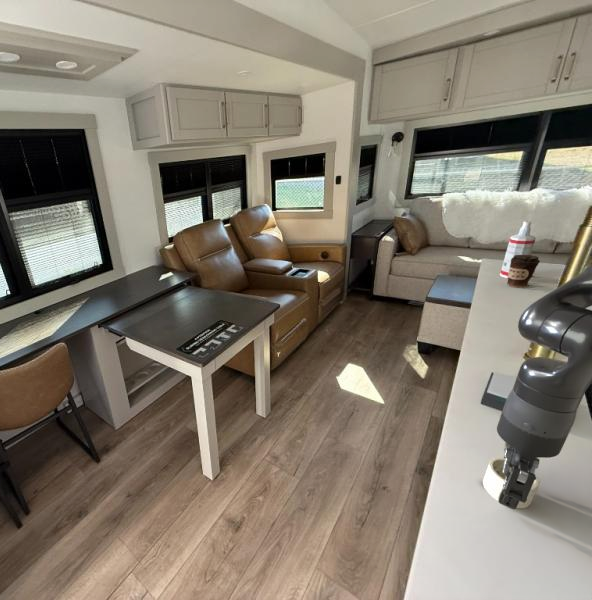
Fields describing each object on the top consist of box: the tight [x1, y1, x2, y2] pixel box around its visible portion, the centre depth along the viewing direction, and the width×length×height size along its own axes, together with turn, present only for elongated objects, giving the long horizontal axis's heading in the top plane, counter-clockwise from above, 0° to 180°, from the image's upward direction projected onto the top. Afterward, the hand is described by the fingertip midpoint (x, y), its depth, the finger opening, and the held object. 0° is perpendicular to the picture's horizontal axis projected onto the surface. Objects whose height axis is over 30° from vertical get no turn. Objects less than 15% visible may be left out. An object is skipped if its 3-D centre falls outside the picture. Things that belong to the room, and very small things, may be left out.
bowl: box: [482, 457, 540, 509], centre depth 57 cm, size 6×6×6 cm
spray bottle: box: [499, 220, 537, 279], centre depth 140 cm, size 8×8×25 cm
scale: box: [480, 371, 517, 412], centre depth 78 cm, size 13×11×3 cm
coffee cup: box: [506, 254, 541, 289], centre depth 133 cm, size 9×8×13 cm
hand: (507, 487), depth 58 cm, fingers open, 8 cm apart
